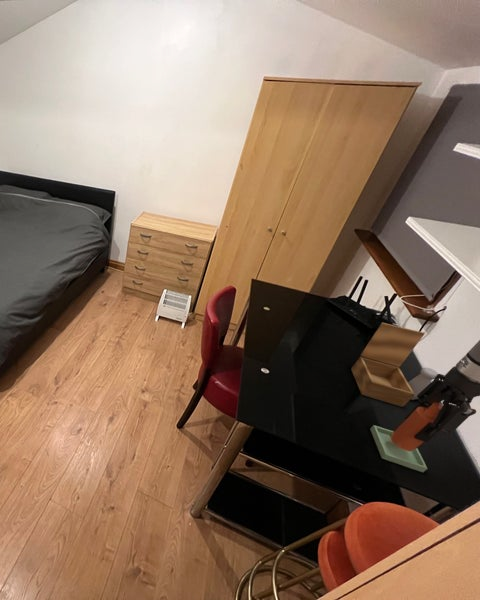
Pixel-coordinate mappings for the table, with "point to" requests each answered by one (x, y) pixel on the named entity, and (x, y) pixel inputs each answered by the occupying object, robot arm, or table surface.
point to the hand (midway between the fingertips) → (415, 429)
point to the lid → (392, 344)
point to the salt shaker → (422, 381)
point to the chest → (382, 381)
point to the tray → (396, 450)
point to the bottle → (414, 427)
